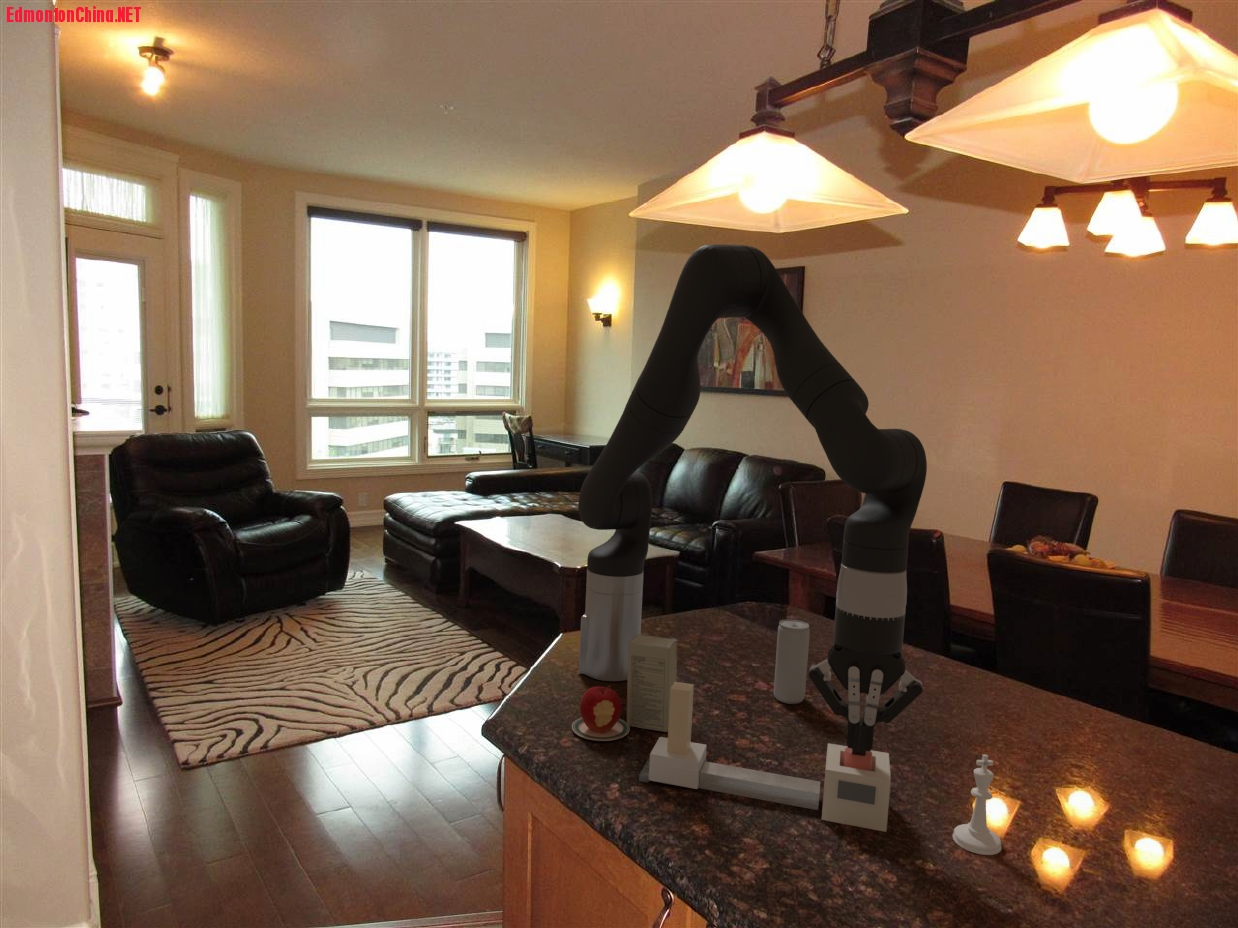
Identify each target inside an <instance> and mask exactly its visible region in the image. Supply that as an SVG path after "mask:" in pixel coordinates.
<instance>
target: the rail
mask: <svg viewBox="0 0 1238 928" xmlns="http://www.w3.org/2000/svg"><path fill="white" fill-rule="evenodd" d="M649 763H650V756H649V757H648V759H647V760H646V762H645V764H644V766H643V767H642V769H641V770H640V773H639V774H638V776H639V777H638V782H641V783H650V781H651V780H649ZM698 789H703V790H706V791H707V790H708V791H713V792H719V793H724V794H729V795H735V796H740V797H746V798H751V799H756V800H760V801H768V802H770V803H771V802H772V803H779V804H783V805H789V806H793V807H797V808H798V807H800V808H803V809H809V810H814V811H818V810H819V802H820V794H821V792H820V791H821V781H818V780H812V779H808V778H807V779H806V778H802V777H796V776H790V775H784V774H783V775H782V774H779V773H773V772H768V771H763V770H757V769H750V768H745V767H744V768H743V767H739V766H734V765H728V764H722V763H715V762H710V761H707V760H706V761H704V762H703V765H702V767H701V769H700V772H699V786H698Z"/></svg>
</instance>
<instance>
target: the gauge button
mask: <svg viewBox="0 0 1238 928" xmlns="http://www.w3.org/2000/svg"><path fill="white" fill-rule="evenodd" d="M871 763H872V752H871V751H866V753H865V756H864V755H859V754H858V755H857V754H852V749H851V748H848V747H846V749H845V758H844V767H850V768H856V769H861V770H867V771H871Z"/></svg>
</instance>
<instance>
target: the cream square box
mask: <svg viewBox="0 0 1238 928" xmlns="http://www.w3.org/2000/svg"><path fill="white" fill-rule="evenodd" d="M846 747H848V746H847V745H842V744H841V745H840V744H835V743H829V742H828V743H827V749H826V761H825V770H824V772H825V773H824V783H823V785H824V786H823V797H822V810H821V821H827V822H832V823H837V824H842V825H847V826H854V827H858V828H863V829H869V830H873V831H880V832H884V833H885V832H886V833H887V830H888V829H887V827H888V816H889V806H890V795H891V794H890V793H891V783H892V782H891V781H892V780H891V779H892V778H891V777H892V776H891V766H890V754H889V752H884V751H877V750H872V749H871V752H872V763H871V771H867V770H861V769H856V768H850V767H844V758H845V749H846Z"/></svg>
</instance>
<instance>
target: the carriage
mask: <svg viewBox="0 0 1238 928" xmlns="http://www.w3.org/2000/svg"><path fill="white" fill-rule="evenodd" d="M694 688H695V685H694V684H693V683H686V682H680V681H676V682H674V684H673V685H672V687H671V689H670V707H669V726H668V732H667V737H663V736H659V737H658V739H657V741H656V742H655V745H653V748H652V750H651V751H650V754H649V757H650V763H649V780H650V781H652V782H655V783H656V782H657V783H660V784H661V783H662V784H666V785H673V786H679V787H684V788H689V789H694V790H698V789H699V788H698V786H699V772H700V769H701V767H702V765H703V762H704V761H706V762H707V744H703V743H698V742H694V741H692V725H693V705H694V690H695V689H694Z"/></svg>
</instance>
